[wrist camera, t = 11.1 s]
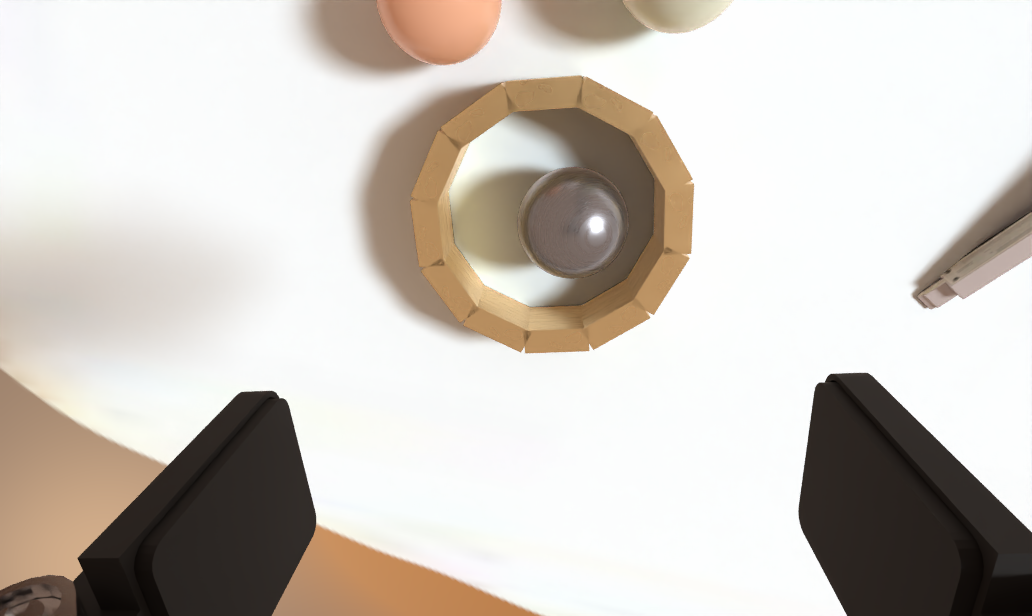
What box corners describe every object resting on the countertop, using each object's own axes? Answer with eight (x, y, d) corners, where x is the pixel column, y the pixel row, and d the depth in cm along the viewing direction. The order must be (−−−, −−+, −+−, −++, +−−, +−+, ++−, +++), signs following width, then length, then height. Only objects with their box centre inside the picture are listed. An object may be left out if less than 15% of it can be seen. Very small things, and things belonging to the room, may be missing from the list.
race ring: (411, 88, 27) (394, 89, 25) (683, 67, 26) (698, 66, 23) (442, 331, 32) (431, 356, 29) (675, 322, 31) (687, 347, 28)
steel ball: (498, 167, 27) (538, 183, 23) (595, 154, 29) (651, 168, 24) (506, 269, 29) (545, 302, 25) (597, 253, 31) (649, 281, 26)
